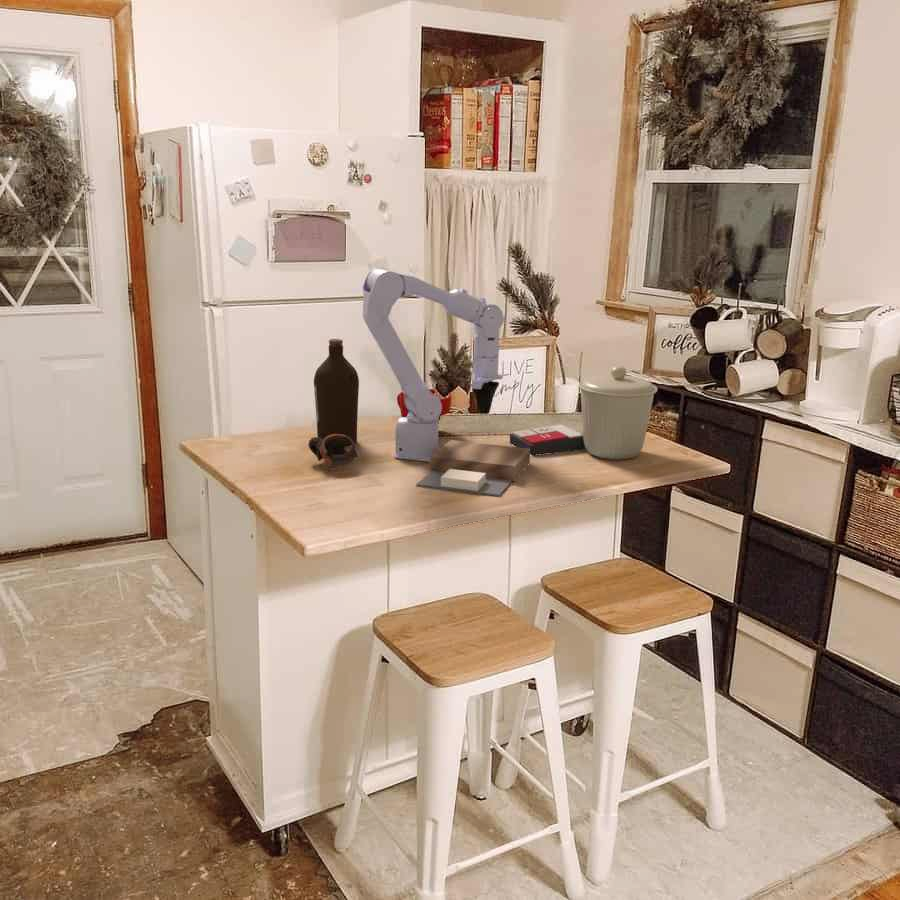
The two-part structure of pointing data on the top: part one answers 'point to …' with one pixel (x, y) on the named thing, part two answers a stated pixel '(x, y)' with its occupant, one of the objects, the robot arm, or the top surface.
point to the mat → (489, 487)
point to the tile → (463, 479)
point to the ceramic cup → (445, 402)
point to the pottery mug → (333, 450)
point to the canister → (615, 413)
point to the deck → (481, 459)
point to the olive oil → (336, 395)
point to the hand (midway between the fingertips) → (484, 413)
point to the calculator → (548, 439)
